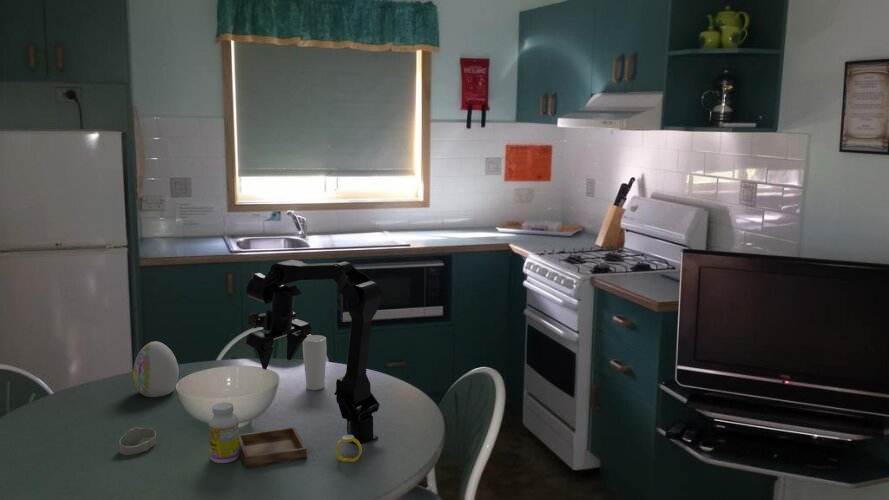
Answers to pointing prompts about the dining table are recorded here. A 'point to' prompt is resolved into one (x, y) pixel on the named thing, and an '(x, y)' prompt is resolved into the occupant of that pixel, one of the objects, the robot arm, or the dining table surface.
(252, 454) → the walnut tray
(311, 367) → the drinking glass
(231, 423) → the supplement bottle
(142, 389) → the decorative egg
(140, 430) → the grey hollow oval piece
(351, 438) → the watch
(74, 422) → the dining table surface
